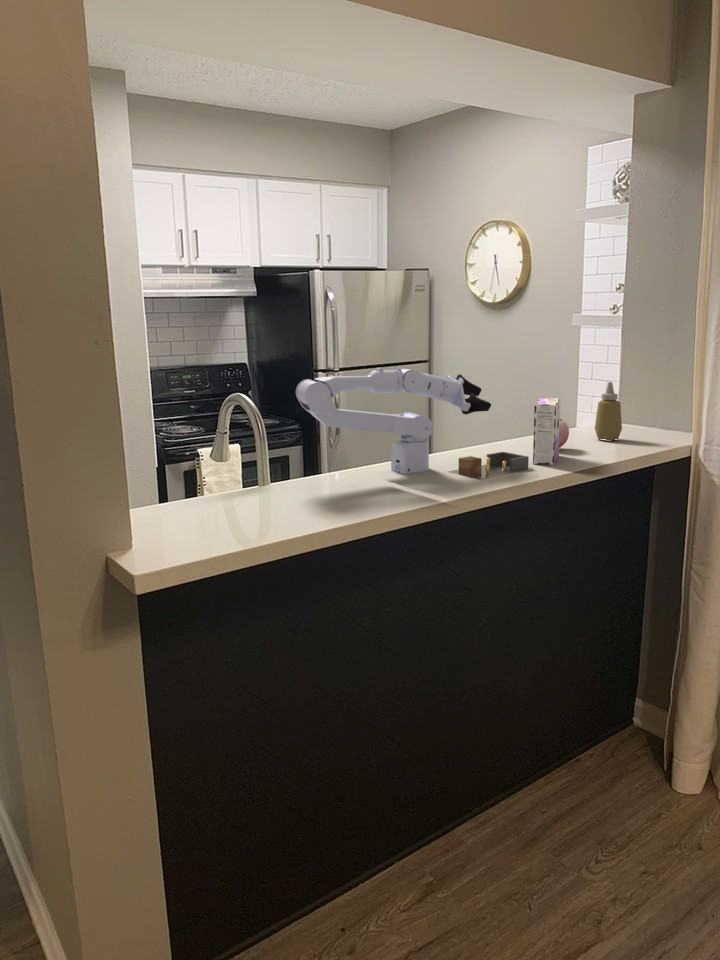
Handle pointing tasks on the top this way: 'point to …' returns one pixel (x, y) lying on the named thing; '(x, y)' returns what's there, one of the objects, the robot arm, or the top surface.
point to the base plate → (492, 470)
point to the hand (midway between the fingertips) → (484, 399)
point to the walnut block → (470, 466)
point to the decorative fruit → (563, 433)
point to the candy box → (546, 431)
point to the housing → (509, 460)
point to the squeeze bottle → (608, 415)
